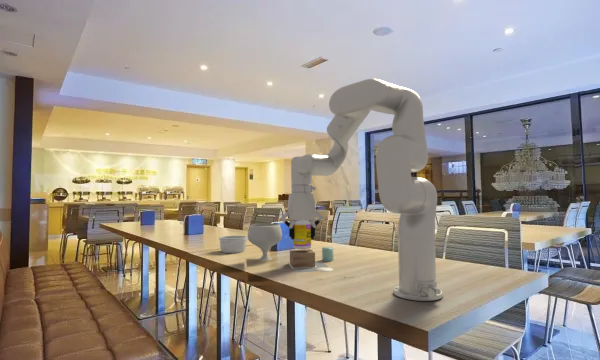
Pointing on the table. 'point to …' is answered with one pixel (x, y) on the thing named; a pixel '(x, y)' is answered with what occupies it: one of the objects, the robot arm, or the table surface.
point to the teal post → (327, 254)
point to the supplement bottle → (302, 234)
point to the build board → (313, 268)
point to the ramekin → (233, 244)
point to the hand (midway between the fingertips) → (302, 238)
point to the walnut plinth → (302, 258)
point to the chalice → (264, 237)
